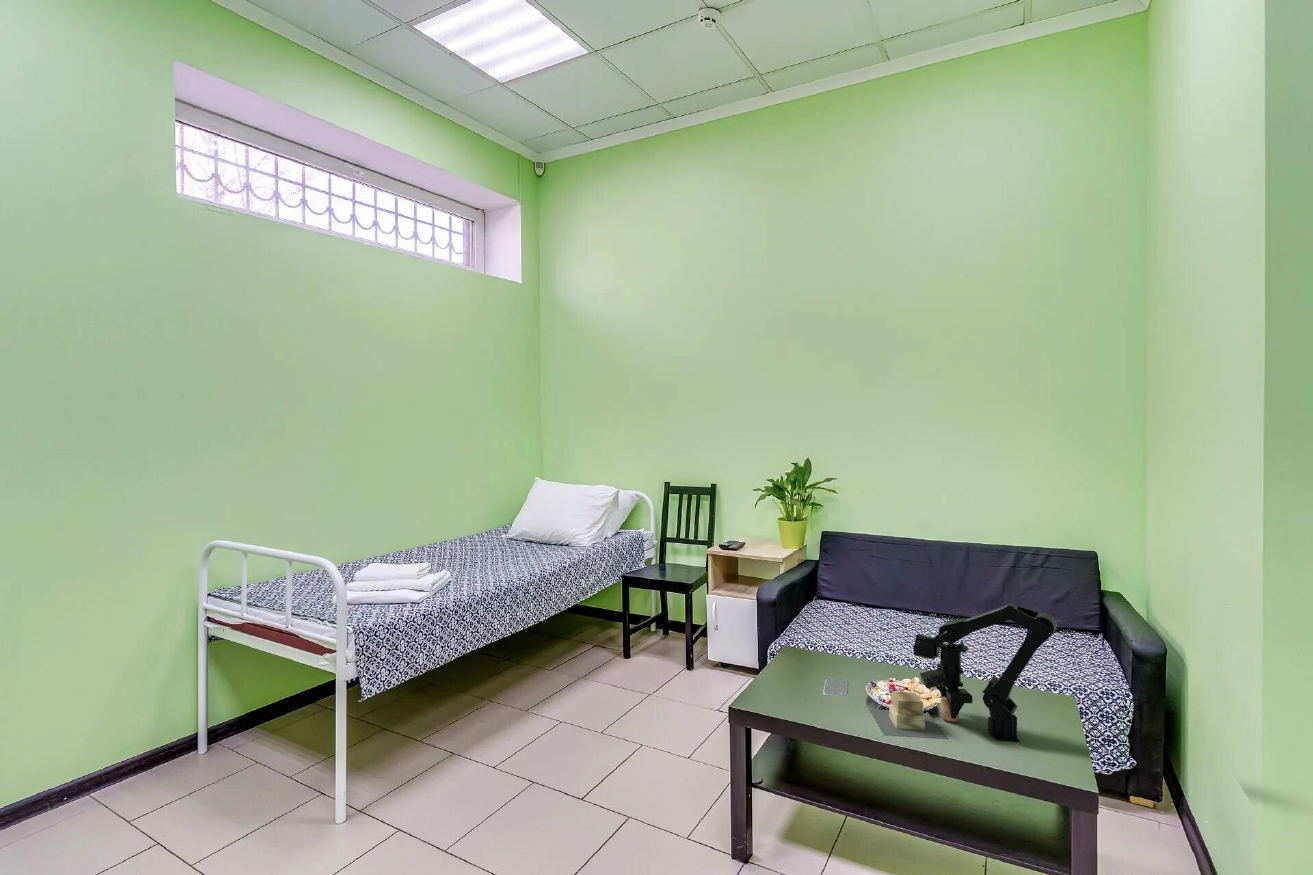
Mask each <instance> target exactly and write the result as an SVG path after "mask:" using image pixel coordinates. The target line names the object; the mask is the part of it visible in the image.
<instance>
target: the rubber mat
mask: <svg viewBox="0 0 1313 875" xmlns="http://www.w3.org/2000/svg"><path fill="white" fill-rule="evenodd" d="M868 711H869V712H870V713H871V716H872V718H873V719H874V721H875V723H876V724H877V727H878V728H879V729H880V732H881V733H882V735H883V736H887V737H889V736H890V737H902V736H903V738H904V736H905V737H906V738H917V739H918V738H920V739H921V738H922V739H934V740H935V739H937V740H939V739H940V740H949V738H948V736H947V735H946V734H945V733H944V731H943V730H942V729H941V727H940V726H939V725H938V724H937V722H936V721H935V719H933V717H932V716H931V715H930V714H929V712H927V711H926V713H923V715H924V716H925V730H914V729H897V728H896V726H895V725H894V723H893V722H892V720H891V719H890V717H889V709H874V708H869V709H868Z"/></svg>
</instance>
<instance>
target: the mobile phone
mask: <svg viewBox="0 0 1313 875" xmlns="http://www.w3.org/2000/svg"><path fill="white" fill-rule="evenodd" d="M848 685H849V681H847V680H841V679H835V678H826V679H825V682H824V687H823V692H822V693H823V695H824V696H828V695H832V696H837V697H846V696H847V695H848Z"/></svg>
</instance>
